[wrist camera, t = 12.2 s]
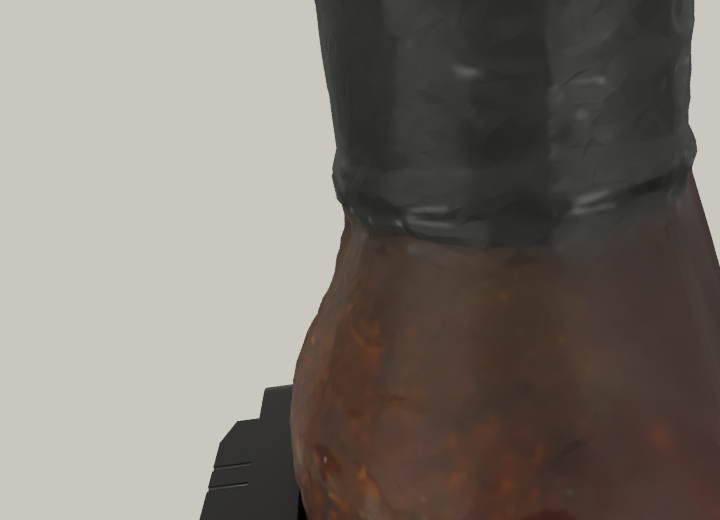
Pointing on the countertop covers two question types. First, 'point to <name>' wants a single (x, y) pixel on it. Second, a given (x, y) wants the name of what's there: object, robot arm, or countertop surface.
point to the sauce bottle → (512, 269)
